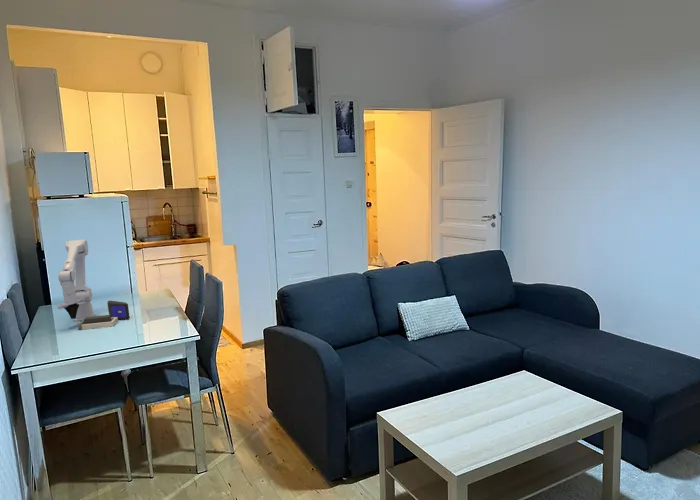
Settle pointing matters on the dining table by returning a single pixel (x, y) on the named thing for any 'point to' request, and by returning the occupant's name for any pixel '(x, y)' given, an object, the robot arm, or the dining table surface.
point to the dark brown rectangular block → (97, 319)
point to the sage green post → (80, 325)
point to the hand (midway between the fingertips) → (73, 318)
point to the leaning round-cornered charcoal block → (118, 310)
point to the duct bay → (100, 324)
